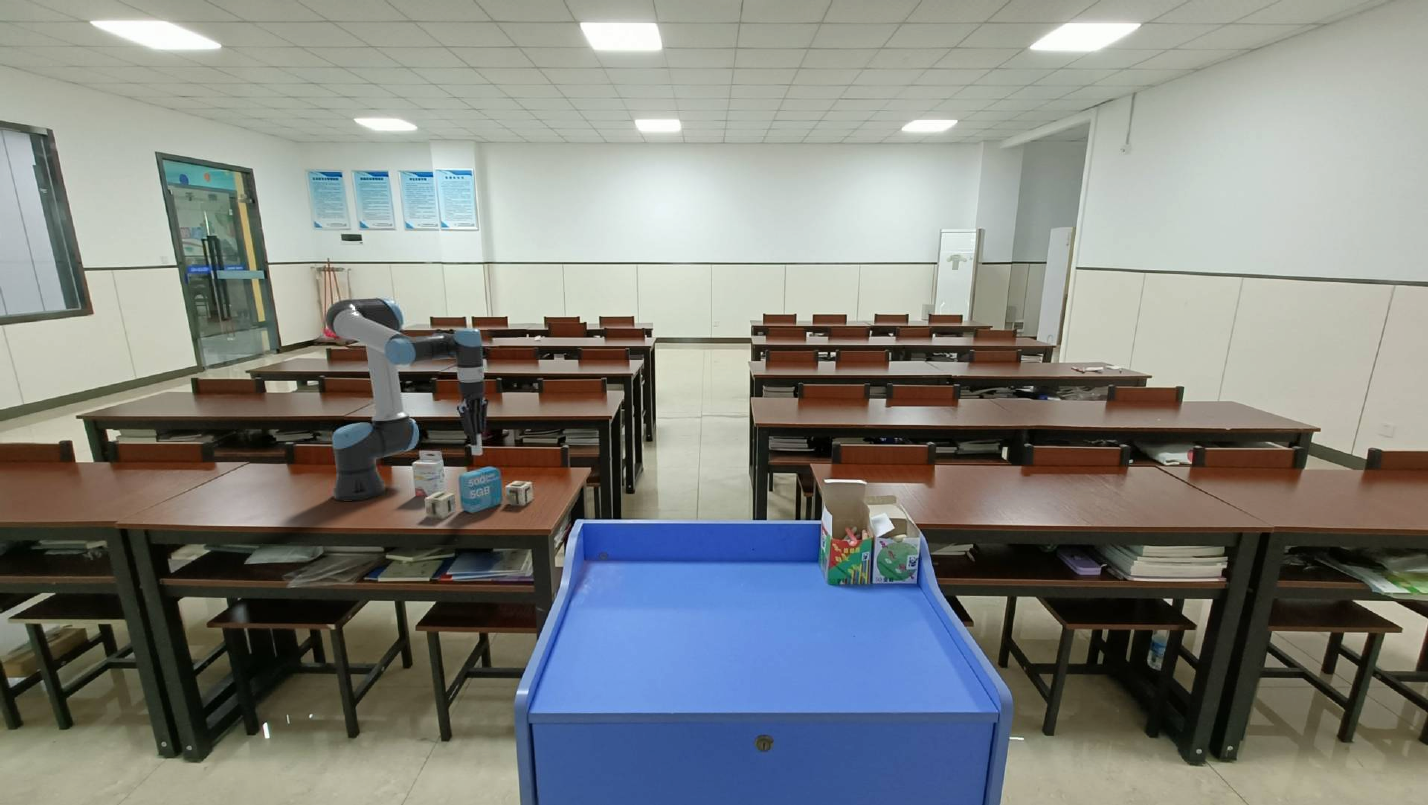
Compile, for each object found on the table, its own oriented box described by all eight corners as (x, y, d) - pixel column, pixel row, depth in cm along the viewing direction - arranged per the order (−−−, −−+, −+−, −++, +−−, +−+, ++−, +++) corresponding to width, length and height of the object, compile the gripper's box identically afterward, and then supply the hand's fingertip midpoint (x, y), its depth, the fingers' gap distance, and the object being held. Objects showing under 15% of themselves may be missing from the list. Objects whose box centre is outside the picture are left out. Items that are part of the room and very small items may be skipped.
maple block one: (426, 517, 189) (424, 498, 188) (439, 509, 195) (437, 491, 194) (443, 519, 188) (441, 499, 187) (456, 511, 194) (454, 492, 192)
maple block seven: (506, 504, 199) (504, 486, 198) (516, 498, 205) (515, 480, 204) (523, 506, 198) (522, 487, 196) (533, 499, 204) (532, 481, 202)
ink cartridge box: (414, 496, 207) (409, 454, 204) (422, 491, 211) (418, 450, 208) (439, 497, 206) (434, 455, 203) (446, 492, 211) (442, 450, 208)
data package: (468, 514, 191) (465, 477, 189) (461, 511, 194) (457, 474, 191) (503, 503, 200) (500, 467, 198) (495, 500, 203) (492, 465, 200)
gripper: (468, 384, 181) (474, 461, 187) (494, 377, 194) (499, 449, 199) (446, 383, 183) (453, 459, 188) (473, 375, 196) (479, 447, 201)
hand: (477, 454), depth 194 cm, fingers closed
